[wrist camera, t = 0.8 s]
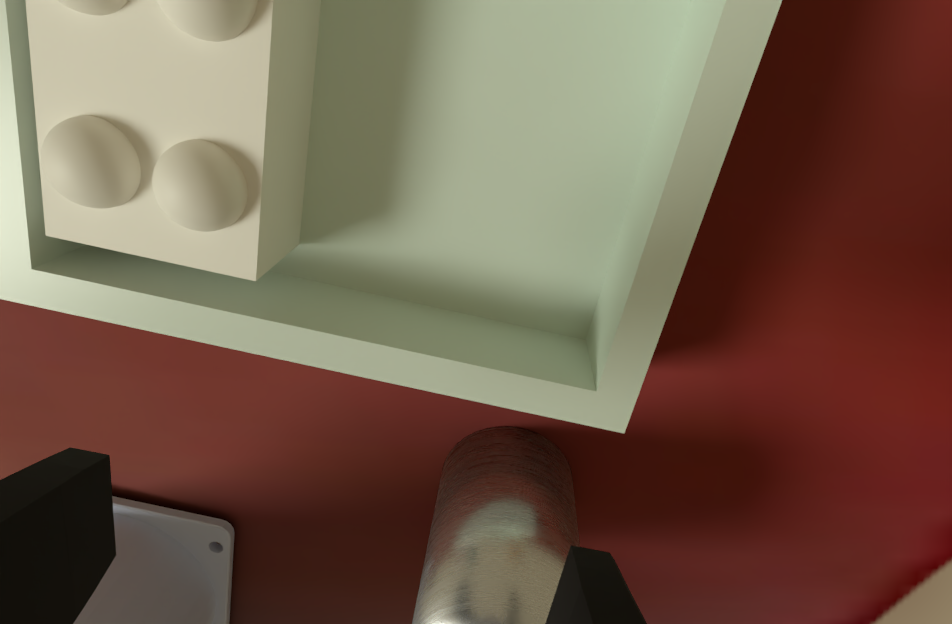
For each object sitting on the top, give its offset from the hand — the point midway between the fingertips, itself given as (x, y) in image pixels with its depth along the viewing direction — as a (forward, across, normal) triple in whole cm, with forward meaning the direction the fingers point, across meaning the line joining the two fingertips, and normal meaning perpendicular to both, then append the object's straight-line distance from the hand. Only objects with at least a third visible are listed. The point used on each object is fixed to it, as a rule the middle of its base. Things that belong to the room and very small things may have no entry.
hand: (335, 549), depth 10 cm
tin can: (+10, -4, +6) cm, 12 cm away
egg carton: (+9, +6, -6) cm, 12 cm away
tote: (+10, +2, -6) cm, 11 cm away
